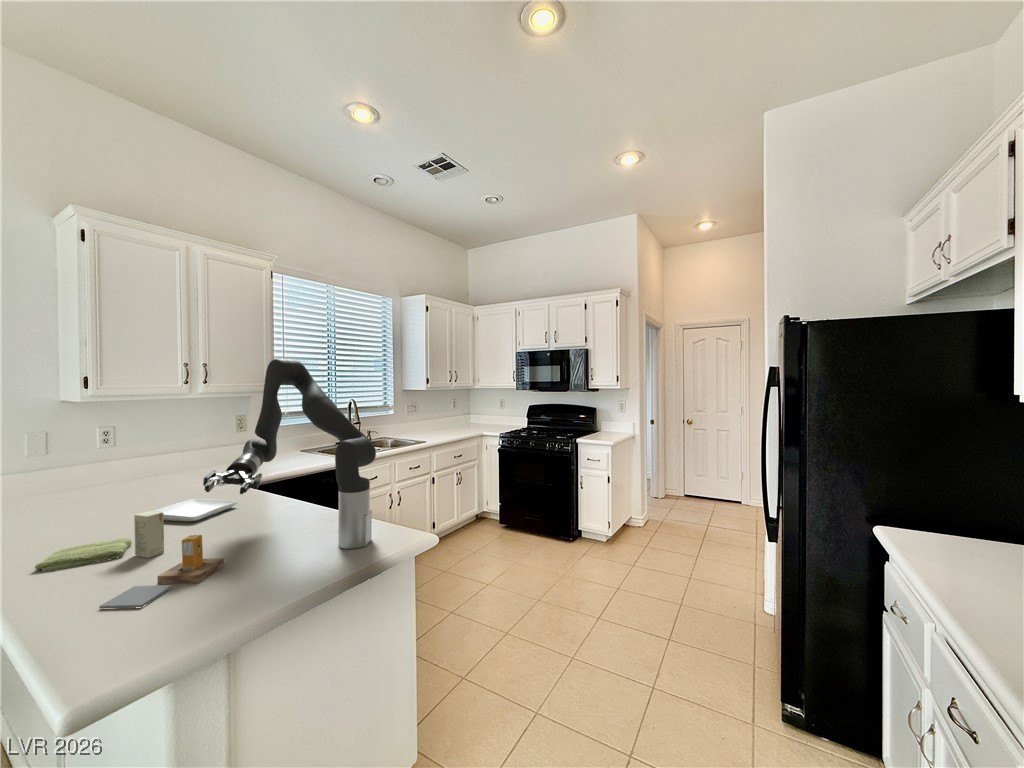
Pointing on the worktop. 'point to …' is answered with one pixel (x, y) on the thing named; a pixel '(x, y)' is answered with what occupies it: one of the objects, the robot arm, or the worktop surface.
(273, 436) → the robot arm
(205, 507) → the salad plate
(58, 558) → the washcloth
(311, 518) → the worktop surface
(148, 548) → the skincare box
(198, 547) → the supplement box
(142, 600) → the grey rubber pad
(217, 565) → the walnut collar
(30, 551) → the worktop surface
